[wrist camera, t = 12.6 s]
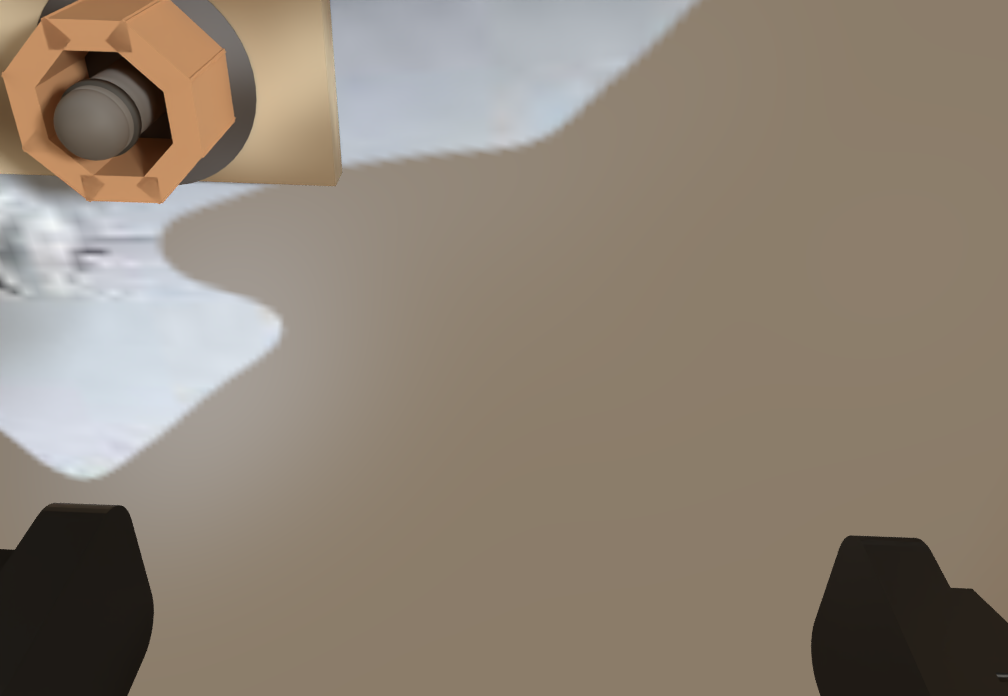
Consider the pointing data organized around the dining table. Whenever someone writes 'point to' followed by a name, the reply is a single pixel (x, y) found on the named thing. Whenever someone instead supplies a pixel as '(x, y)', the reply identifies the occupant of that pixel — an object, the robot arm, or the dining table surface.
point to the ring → (155, 53)
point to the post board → (253, 82)
